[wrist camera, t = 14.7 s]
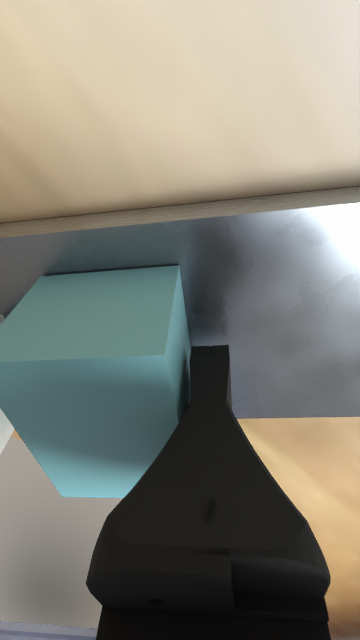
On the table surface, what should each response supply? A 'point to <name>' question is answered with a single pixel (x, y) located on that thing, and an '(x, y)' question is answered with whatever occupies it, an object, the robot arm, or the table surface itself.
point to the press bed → (232, 286)
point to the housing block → (4, 420)
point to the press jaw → (97, 375)
